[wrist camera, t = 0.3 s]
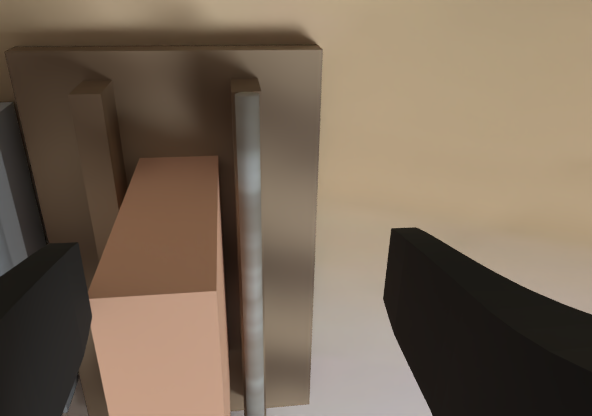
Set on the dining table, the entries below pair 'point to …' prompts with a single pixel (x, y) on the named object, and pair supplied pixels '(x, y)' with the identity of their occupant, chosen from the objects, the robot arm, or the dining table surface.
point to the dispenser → (183, 143)
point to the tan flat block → (164, 294)
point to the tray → (17, 201)
